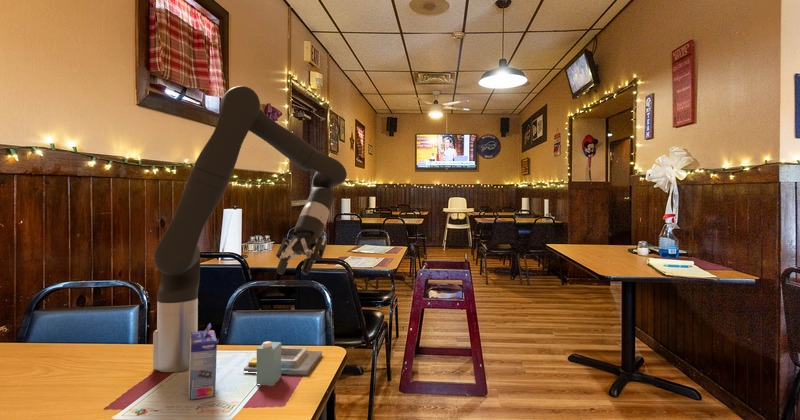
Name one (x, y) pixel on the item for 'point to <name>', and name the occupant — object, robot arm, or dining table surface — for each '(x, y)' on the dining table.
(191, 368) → the ink cartridge box
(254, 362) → the plate
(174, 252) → the robot arm
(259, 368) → the servo
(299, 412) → the dining table surface
